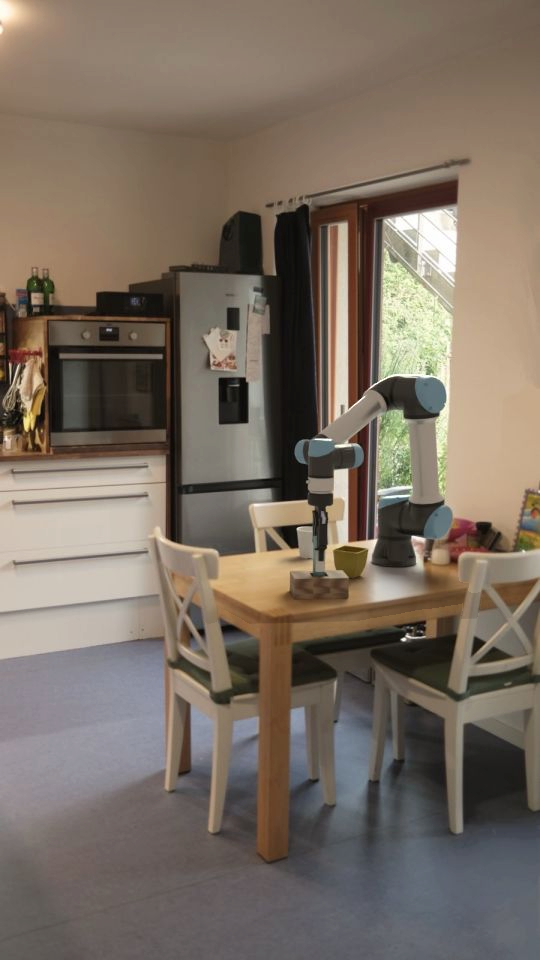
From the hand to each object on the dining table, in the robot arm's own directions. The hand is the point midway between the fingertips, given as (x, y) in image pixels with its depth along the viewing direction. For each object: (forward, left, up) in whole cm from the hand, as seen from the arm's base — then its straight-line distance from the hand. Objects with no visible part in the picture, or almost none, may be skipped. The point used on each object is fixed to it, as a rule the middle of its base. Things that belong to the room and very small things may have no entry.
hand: (319, 569), depth 289 cm
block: (0, 0, -7) cm, 7 cm away
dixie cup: (-5, -52, -8) cm, 53 cm away
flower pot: (-14, -22, -8) cm, 27 cm away
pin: (0, 0, -2) cm, 2 cm away
